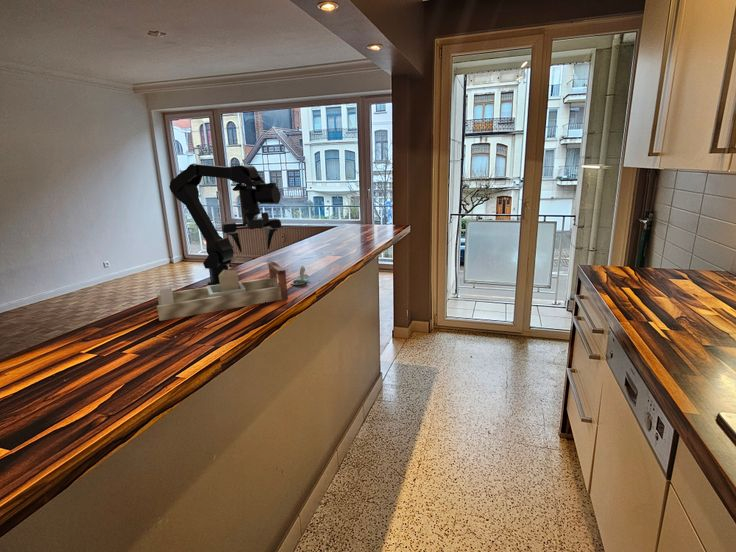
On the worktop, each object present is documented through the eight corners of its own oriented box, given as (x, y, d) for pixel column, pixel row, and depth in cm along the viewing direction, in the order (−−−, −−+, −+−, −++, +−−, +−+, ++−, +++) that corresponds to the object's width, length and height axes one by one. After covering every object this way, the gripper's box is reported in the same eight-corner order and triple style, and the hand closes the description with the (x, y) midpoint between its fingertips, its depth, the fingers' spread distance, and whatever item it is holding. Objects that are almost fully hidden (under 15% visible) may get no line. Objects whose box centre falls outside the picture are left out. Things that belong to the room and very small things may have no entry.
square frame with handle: (163, 317, 112) (159, 293, 110) (163, 307, 121) (159, 284, 119) (247, 303, 121) (244, 280, 120) (241, 294, 130) (238, 273, 128)
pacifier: (288, 286, 139) (305, 286, 138) (286, 269, 137) (303, 268, 136) (294, 281, 146) (310, 280, 145) (292, 264, 144) (308, 263, 143)
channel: (159, 321, 110) (153, 289, 108) (159, 307, 122) (154, 278, 119) (287, 298, 125) (285, 270, 123) (277, 288, 137) (274, 262, 134)
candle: (244, 298, 126) (240, 267, 124) (236, 304, 121) (232, 272, 119) (227, 298, 127) (223, 267, 125) (219, 304, 122) (214, 272, 119)
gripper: (223, 208, 124) (229, 258, 128) (283, 203, 132) (287, 251, 136) (218, 205, 134) (224, 252, 138) (275, 202, 142) (279, 246, 146)
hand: (254, 250), depth 139 cm, fingers open, 9 cm apart
